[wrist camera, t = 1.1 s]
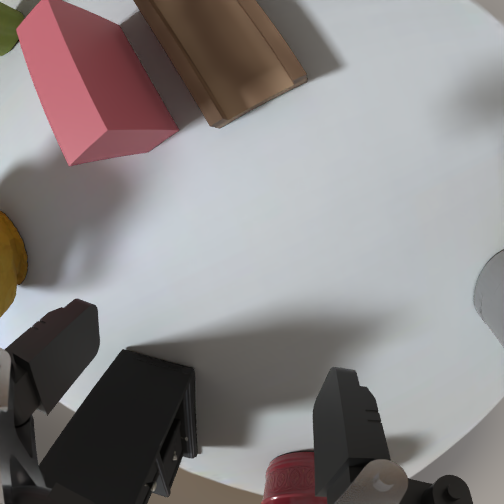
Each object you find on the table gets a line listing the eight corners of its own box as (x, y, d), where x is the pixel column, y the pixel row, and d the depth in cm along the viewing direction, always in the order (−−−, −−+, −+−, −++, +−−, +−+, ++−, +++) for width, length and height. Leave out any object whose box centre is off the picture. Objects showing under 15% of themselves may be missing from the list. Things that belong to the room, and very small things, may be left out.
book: (119, 25, 24) (46, -6, 13) (179, 130, 27) (107, 130, 16) (92, 48, 25) (16, 29, 14) (148, 152, 28) (69, 166, 17)
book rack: (209, -49, 19) (199, -64, 16) (307, 81, 24) (307, 73, 21) (138, -5, 22) (122, -16, 19) (220, 128, 27) (208, 127, 23)
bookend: (198, 454, 46) (159, 562, 24) (143, 437, 47) (93, 535, 25) (196, 366, 37) (122, 527, 15) (122, 345, 38) (26, 474, 16)
